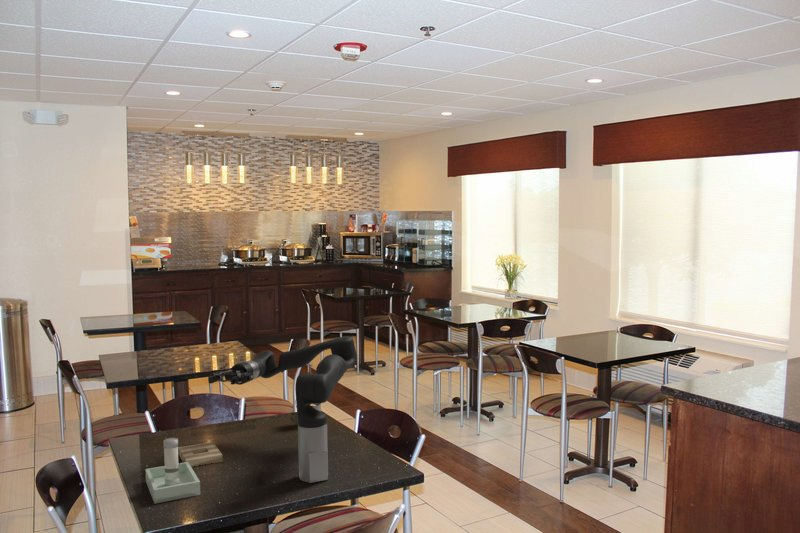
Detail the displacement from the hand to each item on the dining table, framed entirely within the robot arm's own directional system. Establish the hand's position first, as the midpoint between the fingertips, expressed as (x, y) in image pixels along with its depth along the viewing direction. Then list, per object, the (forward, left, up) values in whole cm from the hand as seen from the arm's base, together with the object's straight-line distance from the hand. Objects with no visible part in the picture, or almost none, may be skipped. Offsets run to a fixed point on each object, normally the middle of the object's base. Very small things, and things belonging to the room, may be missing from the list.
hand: (220, 381), depth 222 cm
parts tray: (-15, +19, -28) cm, 37 cm away
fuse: (-15, +19, -27) cm, 36 cm away
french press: (+29, -42, -28) cm, 58 cm away
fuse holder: (+9, +6, -28) cm, 30 cm away
